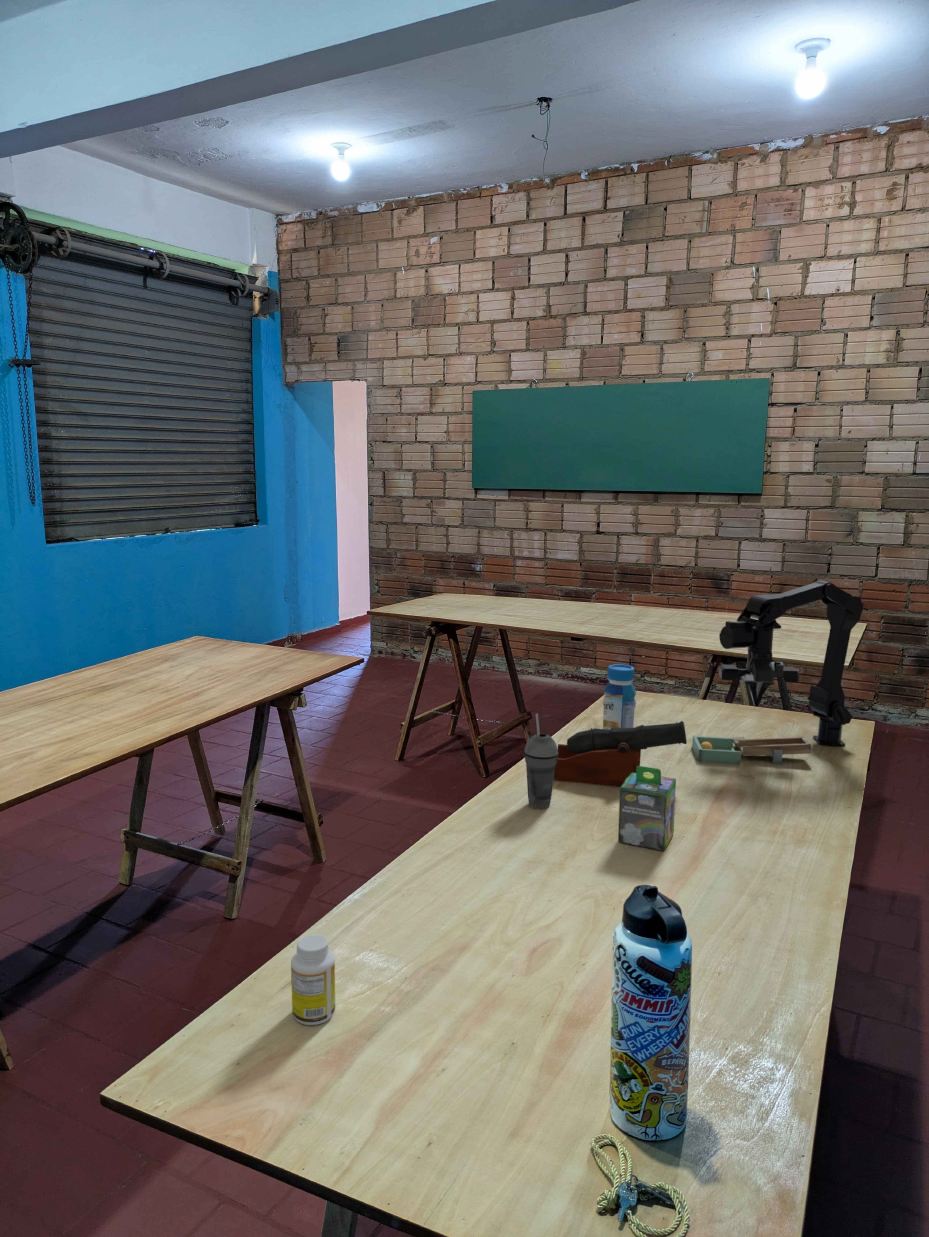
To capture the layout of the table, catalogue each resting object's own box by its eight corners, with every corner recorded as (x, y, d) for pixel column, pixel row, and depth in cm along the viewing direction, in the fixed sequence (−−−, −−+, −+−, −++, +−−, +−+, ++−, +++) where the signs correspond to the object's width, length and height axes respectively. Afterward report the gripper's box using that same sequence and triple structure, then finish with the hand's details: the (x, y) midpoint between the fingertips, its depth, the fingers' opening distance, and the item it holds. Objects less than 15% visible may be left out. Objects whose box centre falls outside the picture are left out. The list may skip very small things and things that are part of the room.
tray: (692, 747, 219) (692, 735, 218) (731, 749, 218) (732, 738, 217) (698, 761, 208) (699, 749, 208) (740, 763, 207) (741, 752, 207)
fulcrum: (765, 752, 216) (766, 739, 215) (773, 753, 215) (774, 740, 215) (772, 763, 208) (774, 750, 207) (781, 764, 207) (782, 750, 207)
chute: (732, 740, 221) (731, 732, 221) (797, 738, 219) (797, 729, 218) (741, 756, 209) (741, 747, 209) (810, 753, 207) (810, 744, 207)
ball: (713, 744, 214) (706, 753, 215) (703, 738, 214) (696, 747, 215) (715, 748, 211) (708, 757, 212) (705, 741, 211) (698, 751, 212)
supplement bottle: (316, 995, 114) (315, 925, 113) (344, 1012, 111) (343, 941, 109) (283, 1014, 110) (281, 943, 108) (310, 1033, 107) (309, 959, 105)
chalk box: (674, 833, 167) (678, 762, 164) (664, 852, 159) (669, 777, 156) (627, 824, 171) (631, 754, 168) (615, 842, 162) (620, 769, 160)
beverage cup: (554, 813, 176) (558, 720, 172) (519, 810, 177) (522, 717, 173) (558, 800, 183) (561, 710, 179) (524, 796, 184) (527, 708, 180)
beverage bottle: (636, 746, 218) (640, 671, 215) (603, 746, 218) (607, 670, 215) (630, 736, 227) (634, 663, 223) (598, 735, 227) (602, 662, 223)
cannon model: (684, 795, 186) (688, 730, 184) (550, 782, 193) (553, 718, 191) (683, 775, 199) (687, 714, 196) (557, 763, 205) (560, 703, 203)
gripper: (727, 652, 206) (723, 713, 209) (807, 654, 204) (802, 717, 207) (719, 642, 217) (716, 701, 220) (795, 644, 215) (791, 704, 217)
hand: (756, 706), depth 216 cm, fingers closed
